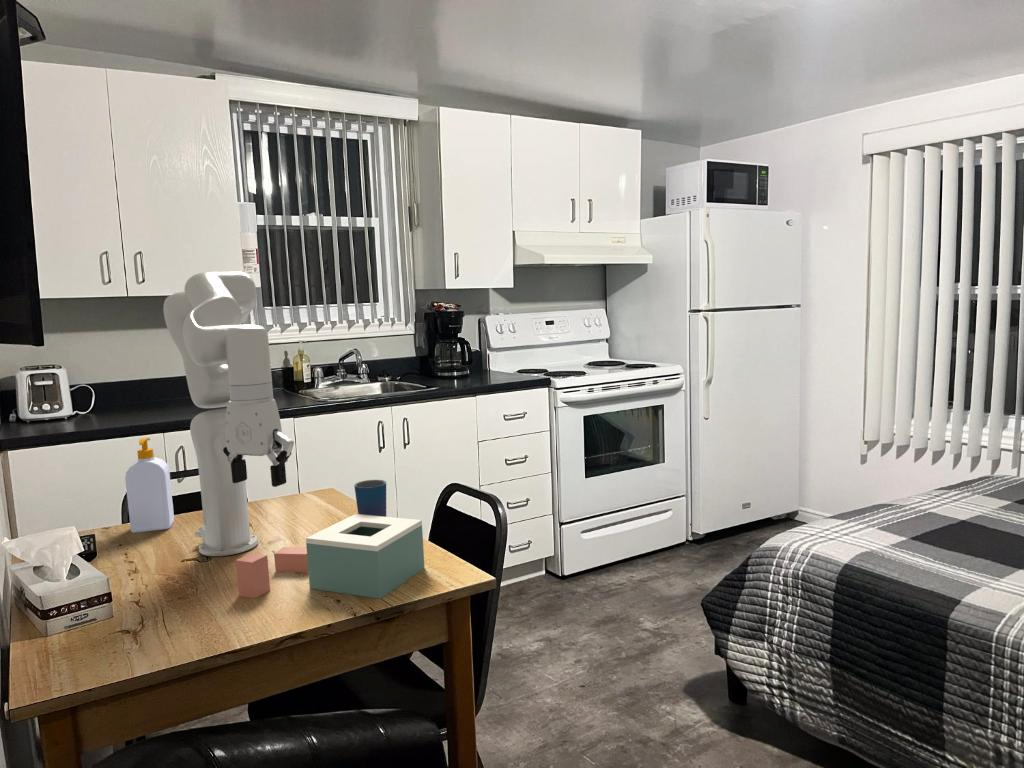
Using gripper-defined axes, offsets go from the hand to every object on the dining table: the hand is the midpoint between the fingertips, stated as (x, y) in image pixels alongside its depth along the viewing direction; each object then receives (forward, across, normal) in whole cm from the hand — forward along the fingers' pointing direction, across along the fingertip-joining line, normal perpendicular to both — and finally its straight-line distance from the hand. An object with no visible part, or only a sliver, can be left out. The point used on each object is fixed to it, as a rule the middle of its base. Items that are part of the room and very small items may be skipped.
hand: (259, 483), depth 138 cm
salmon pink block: (+21, -2, -2) cm, 21 cm away
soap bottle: (+21, -58, +22) cm, 66 cm away
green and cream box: (+21, +15, +12) cm, 28 cm away
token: (+21, -3, +11) cm, 24 cm away
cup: (+21, +6, +26) cm, 34 cm away
